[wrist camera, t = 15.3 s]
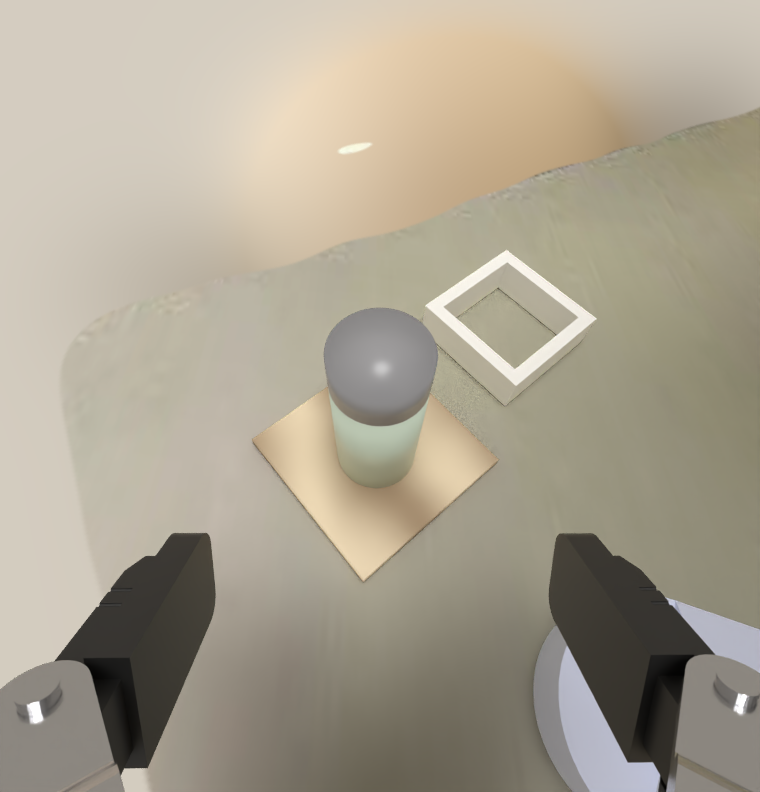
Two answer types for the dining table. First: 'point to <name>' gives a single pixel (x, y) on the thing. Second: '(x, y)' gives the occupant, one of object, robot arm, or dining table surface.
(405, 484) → the pad
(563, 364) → the dining table surface
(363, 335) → the plug
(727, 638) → the wedge on round base
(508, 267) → the collar
